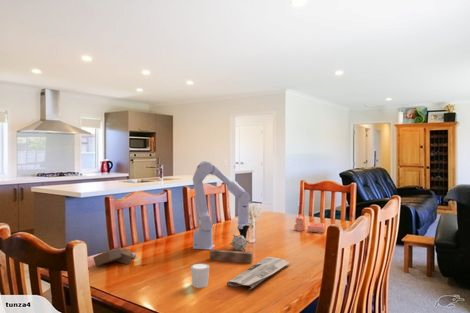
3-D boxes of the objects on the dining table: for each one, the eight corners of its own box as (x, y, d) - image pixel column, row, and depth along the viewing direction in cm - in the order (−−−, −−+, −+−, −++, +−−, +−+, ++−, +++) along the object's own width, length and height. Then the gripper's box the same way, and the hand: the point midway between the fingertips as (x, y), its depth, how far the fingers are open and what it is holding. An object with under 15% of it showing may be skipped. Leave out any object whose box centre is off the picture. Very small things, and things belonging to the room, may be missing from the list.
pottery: (324, 230, 215) (324, 214, 215) (323, 233, 206) (323, 217, 206) (295, 228, 221) (295, 212, 220) (293, 231, 212) (293, 215, 211)
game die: (241, 258, 169) (246, 246, 163) (226, 251, 170) (230, 239, 164) (247, 246, 176) (251, 233, 170) (232, 239, 177) (236, 226, 171)
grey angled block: (142, 266, 156) (110, 273, 140) (121, 258, 162) (89, 263, 147) (145, 250, 156) (114, 255, 141) (124, 242, 163) (93, 246, 147)
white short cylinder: (191, 281, 130) (191, 263, 129) (209, 281, 130) (209, 262, 130) (190, 289, 123) (190, 269, 123) (209, 288, 123) (209, 269, 123)
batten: (210, 259, 156) (210, 251, 156) (211, 258, 158) (211, 249, 158) (251, 263, 151) (251, 254, 151) (252, 261, 153) (252, 252, 153)
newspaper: (265, 261, 156) (265, 253, 156) (291, 265, 149) (291, 257, 149) (224, 287, 125) (224, 278, 125) (255, 294, 119) (255, 284, 119)
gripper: (248, 216, 171) (248, 243, 172) (253, 211, 186) (253, 236, 186) (234, 216, 173) (234, 242, 173) (240, 211, 187) (240, 236, 187)
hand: (243, 239), depth 180 cm, fingers closed
